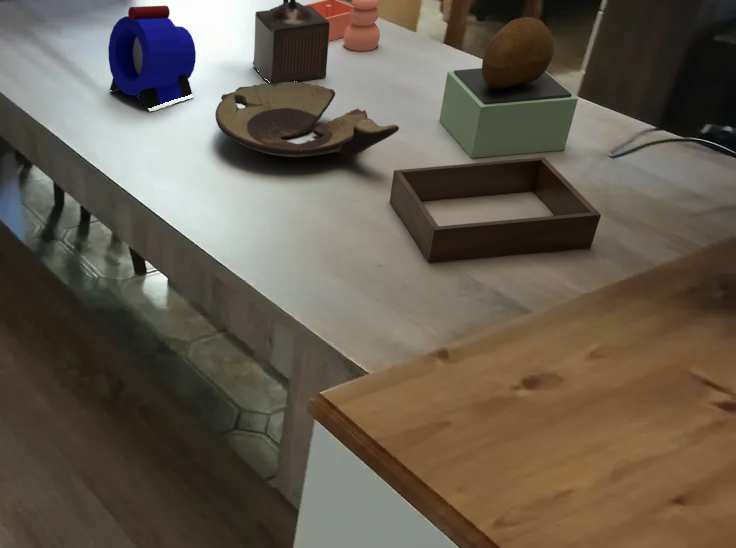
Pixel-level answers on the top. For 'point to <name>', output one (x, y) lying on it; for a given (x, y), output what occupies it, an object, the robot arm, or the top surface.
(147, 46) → the blue spotlight
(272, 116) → the broken ceramic bowl
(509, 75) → the potato
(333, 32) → the pottery
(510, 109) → the stand
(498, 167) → the tray
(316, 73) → the brown coffee grinder
